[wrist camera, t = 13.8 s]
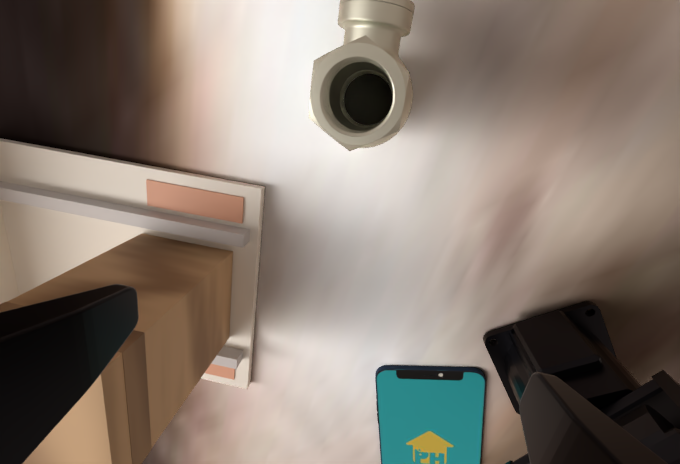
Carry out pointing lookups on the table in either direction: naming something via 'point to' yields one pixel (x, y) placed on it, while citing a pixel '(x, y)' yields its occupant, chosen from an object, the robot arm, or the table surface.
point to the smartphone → (430, 414)
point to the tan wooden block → (142, 346)
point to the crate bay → (126, 226)
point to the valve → (363, 71)
